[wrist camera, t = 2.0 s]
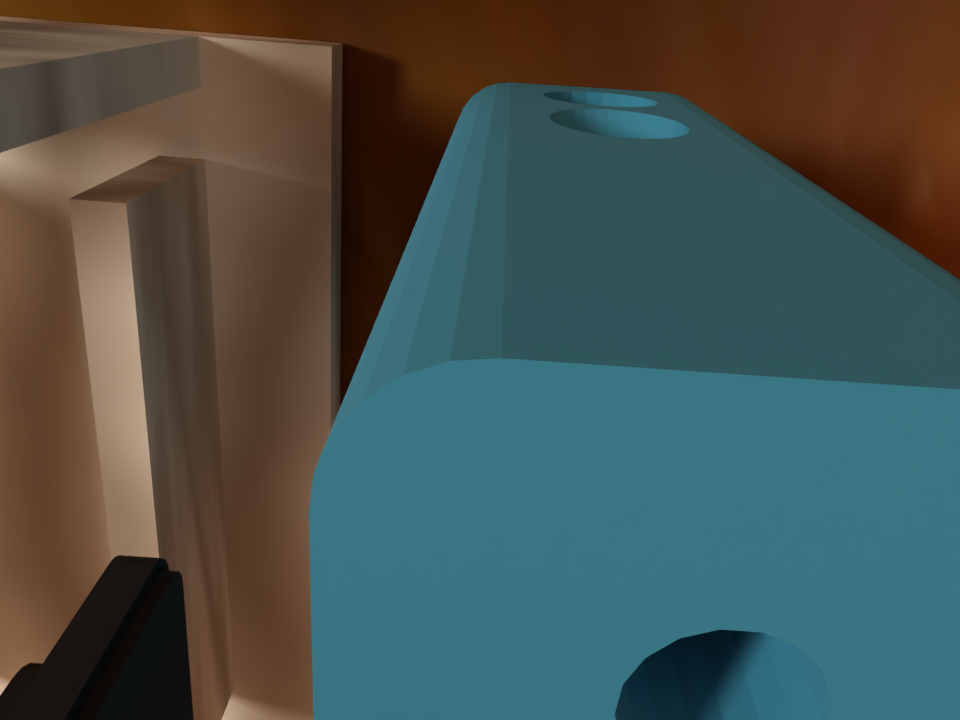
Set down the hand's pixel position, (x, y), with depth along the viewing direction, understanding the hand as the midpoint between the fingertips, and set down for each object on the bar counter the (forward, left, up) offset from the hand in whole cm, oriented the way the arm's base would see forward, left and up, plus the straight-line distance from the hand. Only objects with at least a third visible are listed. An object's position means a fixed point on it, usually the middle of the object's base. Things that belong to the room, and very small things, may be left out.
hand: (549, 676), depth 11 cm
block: (-1, 0, -16) cm, 16 cm away
